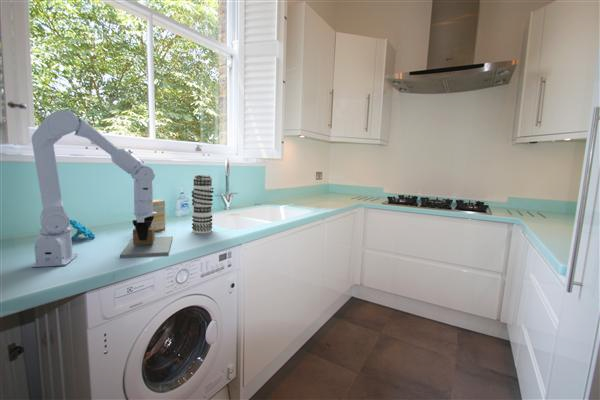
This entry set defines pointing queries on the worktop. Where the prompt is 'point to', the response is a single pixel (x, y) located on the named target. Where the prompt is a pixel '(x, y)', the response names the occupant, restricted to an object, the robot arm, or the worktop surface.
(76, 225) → the gear
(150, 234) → the collar
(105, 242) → the worktop surface
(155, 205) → the supplement box
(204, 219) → the decorative candle
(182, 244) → the worktop surface
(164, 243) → the hub board
